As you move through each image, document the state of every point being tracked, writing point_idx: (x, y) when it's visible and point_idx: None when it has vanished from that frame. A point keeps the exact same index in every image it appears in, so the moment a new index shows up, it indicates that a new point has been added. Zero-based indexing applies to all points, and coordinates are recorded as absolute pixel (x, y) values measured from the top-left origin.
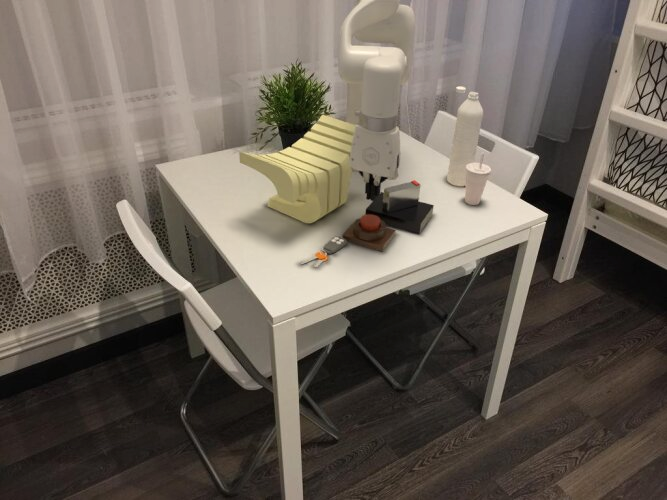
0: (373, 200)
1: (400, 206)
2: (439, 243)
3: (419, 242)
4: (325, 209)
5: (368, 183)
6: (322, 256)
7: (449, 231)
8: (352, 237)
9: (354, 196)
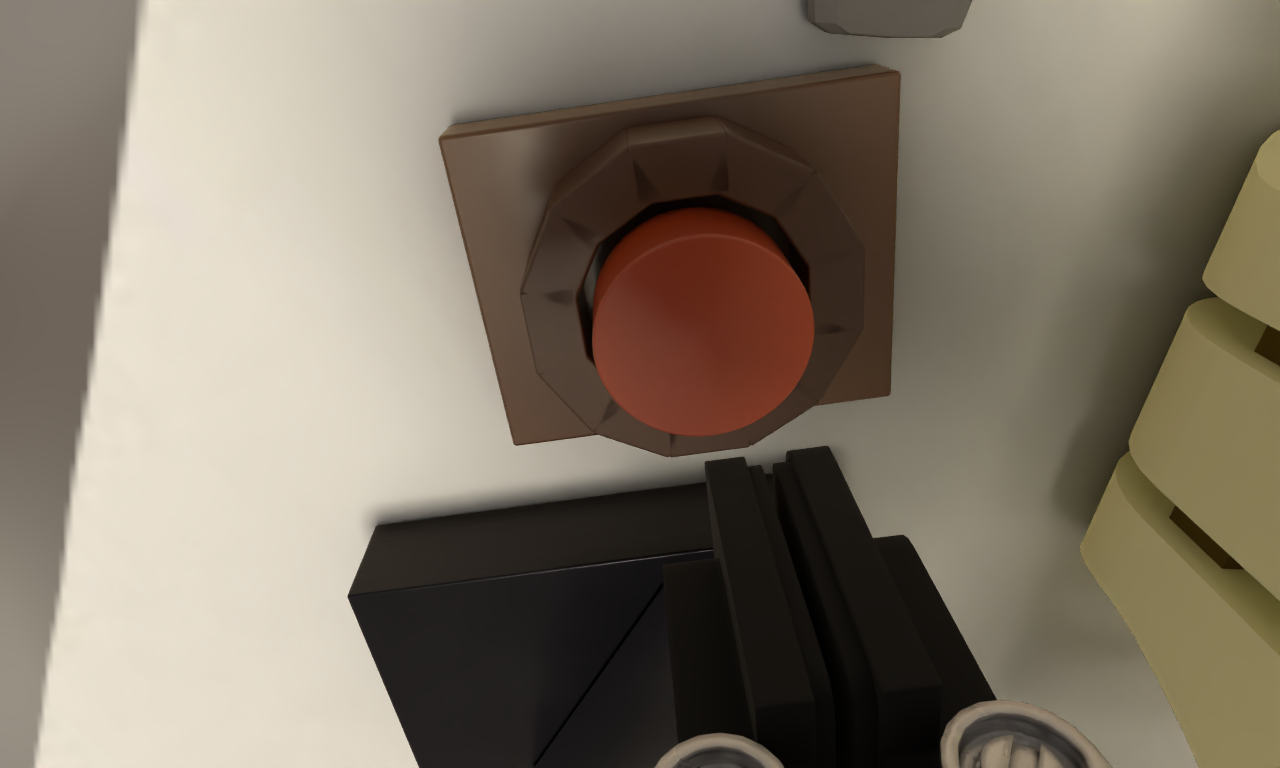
0: (706, 482)
1: (608, 689)
2: (184, 511)
3: (305, 441)
4: (1249, 287)
5: (925, 714)
6: None
7: (244, 661)
8: (787, 92)
9: (1035, 658)
